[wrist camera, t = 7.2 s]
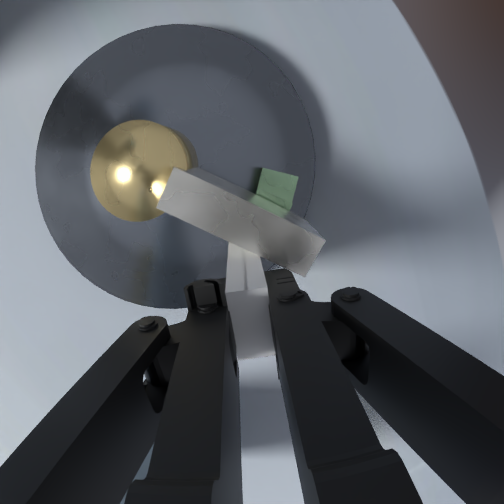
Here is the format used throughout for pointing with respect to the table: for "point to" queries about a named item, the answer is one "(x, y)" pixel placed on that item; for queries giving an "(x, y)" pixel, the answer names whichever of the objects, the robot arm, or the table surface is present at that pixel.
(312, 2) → the table surface
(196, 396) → the robot arm
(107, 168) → the needle dial
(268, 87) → the gauge plate
